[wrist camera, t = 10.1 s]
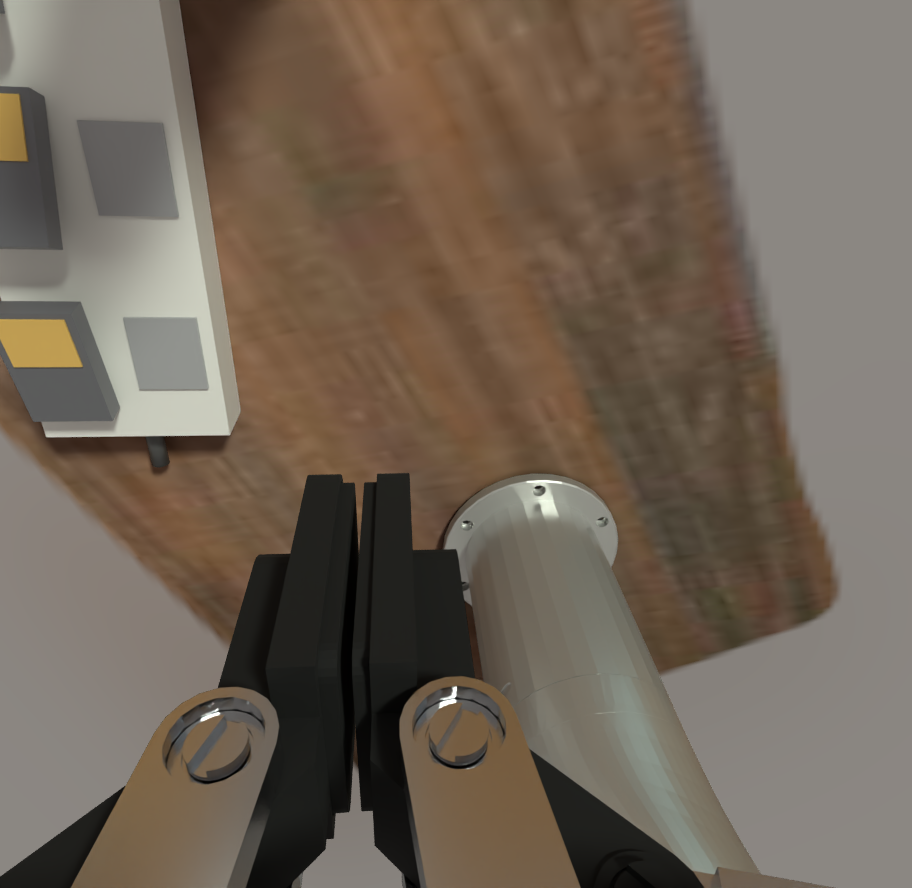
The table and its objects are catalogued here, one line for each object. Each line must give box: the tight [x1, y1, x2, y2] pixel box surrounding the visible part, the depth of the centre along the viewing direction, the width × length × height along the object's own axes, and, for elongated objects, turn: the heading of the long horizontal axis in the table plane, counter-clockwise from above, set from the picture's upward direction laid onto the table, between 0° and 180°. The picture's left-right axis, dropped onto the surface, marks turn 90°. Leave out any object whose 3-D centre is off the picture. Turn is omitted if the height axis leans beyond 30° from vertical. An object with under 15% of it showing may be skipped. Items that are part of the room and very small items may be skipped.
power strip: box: [0, 0, 241, 467], centre depth 31 cm, size 31×10×3 cm, turn 178°
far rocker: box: [0, 301, 120, 422], centre depth 32 cm, size 6×4×1 cm, turn 178°
